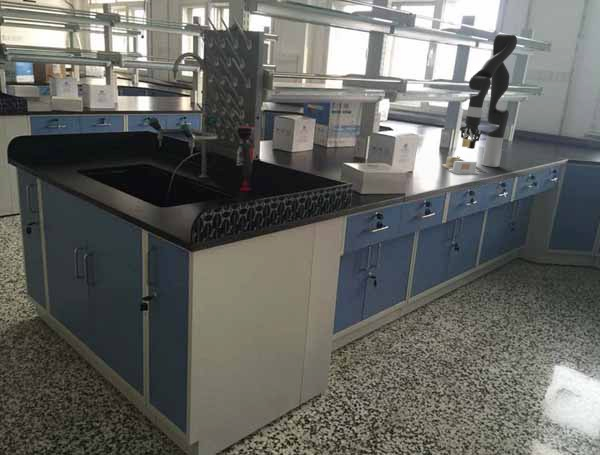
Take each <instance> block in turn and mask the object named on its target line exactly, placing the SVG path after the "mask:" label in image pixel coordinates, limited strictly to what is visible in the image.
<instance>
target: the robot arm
mask: <svg viewBox="0 0 600 455" xmlns="http://www.w3.org/2000/svg"><path fill="white" fill-rule="evenodd" d="M492 43H493V44H492V57H490V58H489V59H487V60H486V62H485V63H484V64H483V66H482V67H481V69H479V70H478V71H477V72H476V73H475V74H474V75H472V76H471V78H470V79H469V81H468V86H469V89H471V90H473V91H479V93H478V94H472V95H471V96H470V97H469V102H468V108H467V111H466V115H465V123H464V124H465V126H461V129H460V138H461V139H462V140H463V139H469V138H470V139H471V141H472V142H471V145H470V148H469V149H470V150H471V149H472V150H473V149H474V147H476V143H477V142H479V140H480V138H481V135H482V133H483V131H482V129H479V126H480V124H481V120H482V114H483V106H484V102H485V98H486V97H487V93H488V92H489V90H490V99H489V106H488V110H487V111H488V112H487V123H488V124H490V125H495V126H496V125H497V126H498V128H495V129H490V130H488V131H487V135H486V138H485V144H484V150H483V155H482V161H481V165H482V166H485V167H491V168H497V167H500V164H501V160H502V159H501V158H502V153H503V150H502V146H503V141H504V137H505V133H506V129H507V124H508V120H509V117H510V112H509V110H508V109H504V108H497V104H498V102H499V100H500V99H501V98H502V97H503V96H504V94H505V93H506V92H507V91H508V88H509V85H510V73H509V70H508V68H507V66H506V65H505V63H504V62H505V61H506V60H507V59H508V58H509V57H510V56H511V55H512V53H513V52H514V51H515V49H516V47H517V44H518V37H517V36H516V35H515V34H509V33H498V34H496V35H495V36H494V39H493V42H492ZM475 142H476V143H475Z"/></svg>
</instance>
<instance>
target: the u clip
mask: <svg viewBox="0 0 600 455" xmlns="http://www.w3.org/2000/svg"><path fill="white" fill-rule="evenodd" d="M471 142H472V141H471V138H468V139H463V138H462V142H461V147H462V148H467V149H470V145H471ZM476 143H477V141H476V142H475V144H476ZM475 147H476V146H475ZM475 147H474V149H475Z"/></svg>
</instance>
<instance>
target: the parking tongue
mask: <svg viewBox="0 0 600 455" xmlns="http://www.w3.org/2000/svg"><path fill="white" fill-rule="evenodd" d="M459 157H460V156H458V157H457V156H447V157H446V162H445V163H444V164H443V163H442V164H441V167H442V168H445V169H448V170H449V169H453V164H454V161H459V159H460V158H459Z"/></svg>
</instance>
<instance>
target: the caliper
mask: <svg viewBox="0 0 600 455" xmlns="http://www.w3.org/2000/svg"><path fill="white" fill-rule="evenodd" d="M456 157H459V161H465V160H464V159H461V157H460V156H458V155H457V156H456ZM475 170H478V171H480V172H482V173H487V174H489V173H490V172H489V171H488V170H486V169H484V168H482V167H479V166H477V165H476V169H475Z"/></svg>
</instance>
